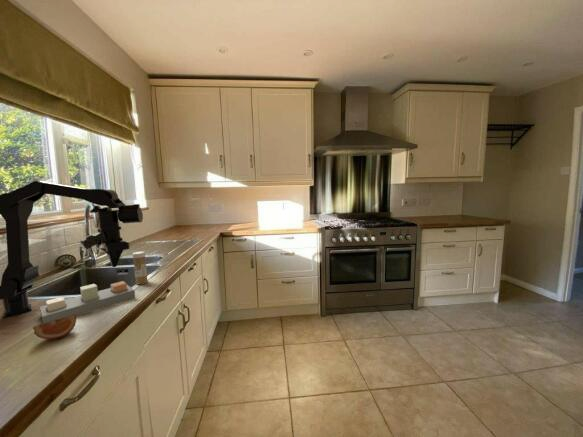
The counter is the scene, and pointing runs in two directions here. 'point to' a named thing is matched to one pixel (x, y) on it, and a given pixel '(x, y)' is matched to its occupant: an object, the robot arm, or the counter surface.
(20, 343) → the counter surface
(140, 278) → the sprinkles bottle
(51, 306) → the ivory key
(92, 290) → the sage key
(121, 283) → the terracotta key
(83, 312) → the key panel
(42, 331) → the fruit slice
